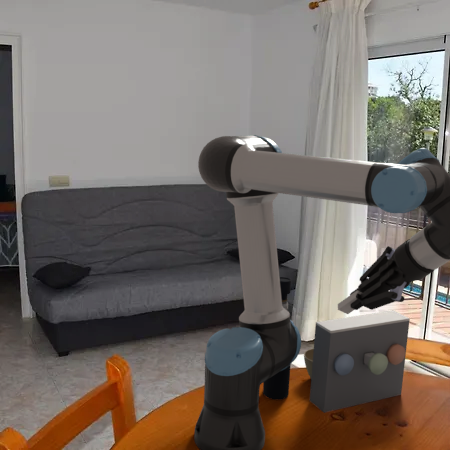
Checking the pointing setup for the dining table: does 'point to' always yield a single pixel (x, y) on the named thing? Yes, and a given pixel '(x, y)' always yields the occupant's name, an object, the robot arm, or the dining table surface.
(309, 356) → the flower pot
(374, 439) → the dining table surface
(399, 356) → the terracotta button
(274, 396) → the wine bottle
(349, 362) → the slate button
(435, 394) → the dining table surface
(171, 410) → the dining table surface
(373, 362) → the sage button
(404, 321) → the control panel
